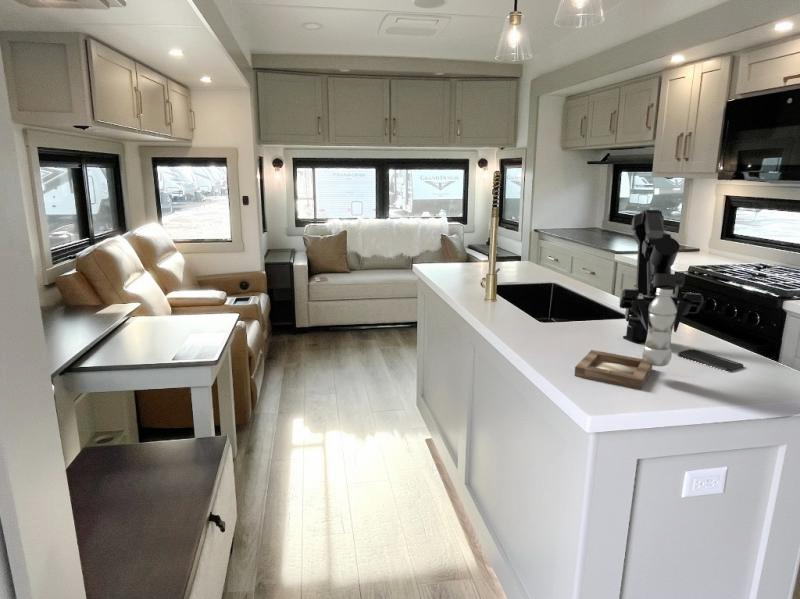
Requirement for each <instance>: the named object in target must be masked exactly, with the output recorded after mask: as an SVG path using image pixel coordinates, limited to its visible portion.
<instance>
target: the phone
mask: <svg viewBox="0 0 800 599" xmlns="http://www.w3.org/2000/svg"><path fill="white" fill-rule="evenodd" d="M677 356H678V357H679V358H682V357H683V358H682V359H685V358H686V359H685V360H688V359H689V361H691V360H693V361H692V362H694V361H696V362H695V363H697V362H699V363H698V364H700V363H702V364H701V365H703V364H706V365H705V366H707V365H708V366H707V367H710V366H712V367H711V368H713V367H715V368H714V369H716V368H718V369H717V370H719V369H721V370H720V371H722V370H725V371H732V372H734V371H733V370H735V371H736V369H738V370H740V369H739V368H741V369H743V368H744V364H743V363H741V362H738V361H734V360H730V359H728V358H726V357H725V358H724V357H720V356H718V355H714V354H712V353H707V352H704V351H700V350H698V349H695V348H692V349H687V350H683V351H678V352H677ZM742 367H743V368H742ZM725 371H724V372H725Z"/></svg>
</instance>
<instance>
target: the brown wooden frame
mask: <svg viewBox="0 0 800 599" xmlns="http://www.w3.org/2000/svg"><path fill="white" fill-rule="evenodd" d="M653 367H654V366H653V365H649V364H647V363H645V362H644V360H643V358H638V357H632V356H628V355H621V354H617V353H610V352H606V351H599V350H595V349H591V350H590V351H589V352H588V353H587V354H586V355H585V356H584V357H583V358H582V359H581V361H579V363H578V364H577V365H575V367H574V377H579V378H584V379H588V380H594V381H599V382H603V383H608V384H613V385H618V386H623V387H627V388H632V389H635V390H636V389H638V390H642V388H643V386H644V384H645V382H646V381H647V379H648V378H649V376H650V374H651V373H652V371H653Z"/></svg>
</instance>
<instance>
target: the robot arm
mask: <svg viewBox="0 0 800 599" xmlns="http://www.w3.org/2000/svg"><path fill="white" fill-rule="evenodd" d="M664 218H665V217H664V215H663V213H662V210H659V209H645V210H642V212H640V213H637V214H635V215H633V218H632V220H631V225H630V226H631V231H633V232H632V238H633V239H634V240H635V243H636V244H637V258H636V259H637V262H636V276H635V278H636V279H635V280H636V282H635V289H631V288H624V289H622V290H621V294H620V297H619V308H620V309H625V311H624V318H625V321H626V322H627V326H626V334H625V335H622V339H626V340H627V341H630V342H633V343H635V344H643V343H646V339H647V334H648V307H649V305H650V303H651V302H652V301H653V300H654V299H655V298H656V296H657V295H655V294H656V288H657V287H670V288H673V295H675V293H676V288H677V287H683V286H684V285H685V281H686V279H685V278H686V277H685V272H681V271H680V272H679V271H677V272H675V273H674V274H673V273H672V266H673V265H674V263H675V261H676V258H677V256H678V253H680V246H681V245H680V243H679V242H678V240H676V239H675V238H672V235H671V234H669V233H667V232H665V229H664V220H665V219H664ZM671 298H672V300H673V301H674V303H675V304H676V306H677V314H676V318H675V321H674V324H673V332H674V333H677V331H678V329H679V324H680V322H681V319H682V317H683V316H687V315H688V314H698V313H699V312H700V311H701V309H702V307H703V304H704V295H702V293H698V292H696V293H695V292H684V294H683V297H674V296H672V297H671Z"/></svg>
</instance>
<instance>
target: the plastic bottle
mask: <svg viewBox="0 0 800 599" xmlns="http://www.w3.org/2000/svg"><path fill="white" fill-rule="evenodd" d="M655 295H657V296H656V298H655V299H654V300H653V301H652V302H651V303H650V305H649V307H648V334H647V339H646V342H644V343H645V344H644V346H643V349H642V354H641V356H642V359H643V360H644V362H645V363H647V364H649V365H653V366H652V367H665V366H668V365H669V363H670V362H671V360H672V347H671V346H672V334H673V330H674V321H675V318H676V314H677V306H676V304H675V303H674V301H673V300H672V298H671V297H674V294H673V288H670V287H657V288H656V294H655Z"/></svg>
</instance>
